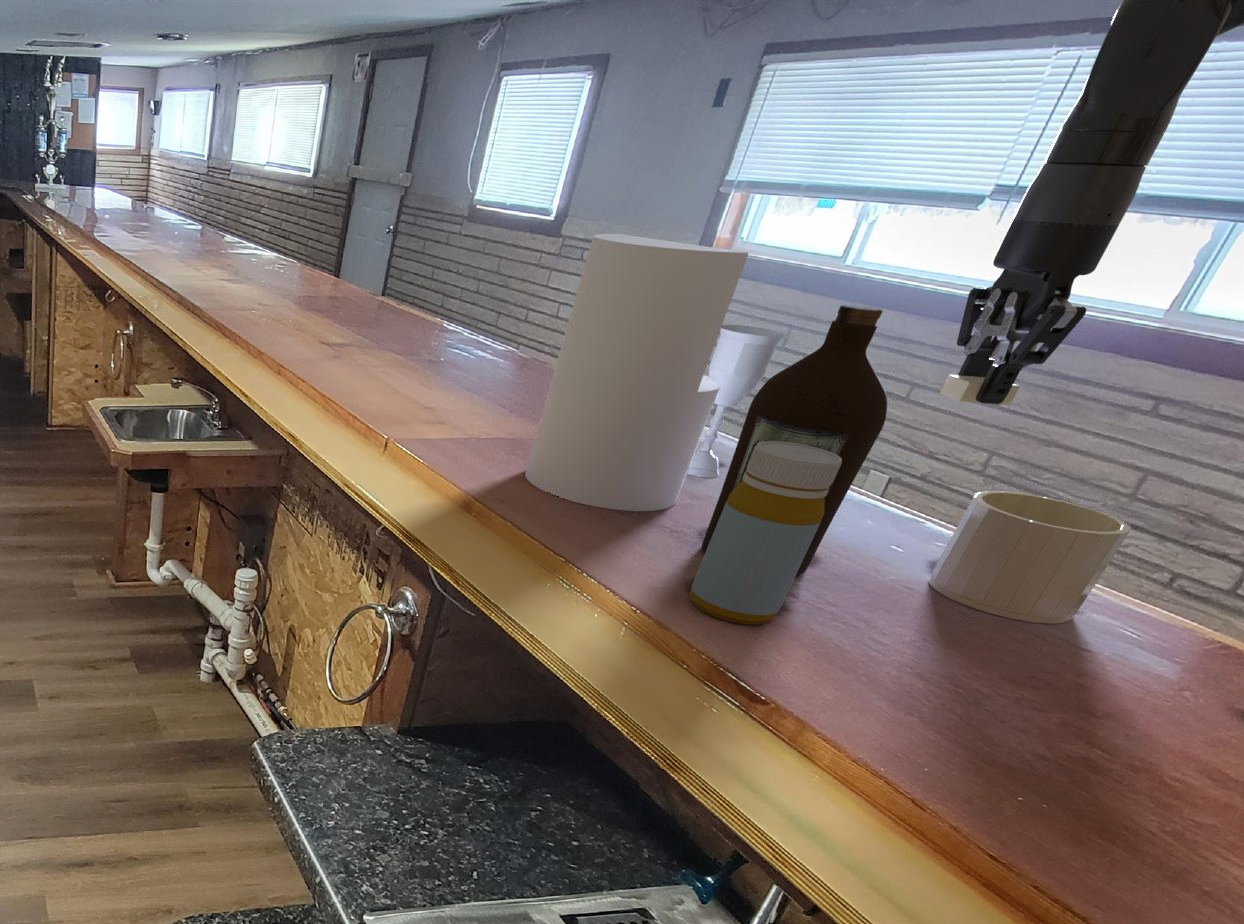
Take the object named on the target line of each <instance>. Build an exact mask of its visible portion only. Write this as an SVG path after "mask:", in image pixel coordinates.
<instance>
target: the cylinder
mask: <svg viewBox="0 0 1244 924" xmlns="http://www.w3.org/2000/svg"><path fill="white" fill-rule="evenodd" d="M748 256H749V252H747V251H741V250H740V251H739V250H734V249H726V248H721V247H720V248H719V247H714V246H713V247H712V246H704V245H699V244H692V243H685V242H679V241H670V240H664V239H657V238H650V237H642V236H636V235H629V234H623V233H602V234H601V233H600V234H594V235H592V239H591V242H590V245H589V248H588V253H587V257H586V260H585V263H584V267H583V270H582V274H581V277H580V281H579V284H578V287H577V291H576V294H575V298H574V302H573V305H572V308H571V311H570V315H569V318H568V322H567V325H566V329H565V332H564V335H563V340H562V343H561V347H560V350H559V353H558V357H557V360H556V363H555V367H554V371H553V375H552V377H551V381H550V385H549V388H548V391H547V395H546V398H545V402H544V406H543V410H542V413H541V415H540V420H539V423H538V426H537V430H536V434H535V438H534V440H533V444H532V448H531V451H530V454H529V458H528V462H527V465H526V469H525V471H524V474H525V479H526V480H527V481H528V482H529V483H530V484H531V485H533V486H534V487H536V488H537V489H539V490H540V491H542V492H545V493H547V492H550V493H551V494H550V493H549V494H550V495H552V494H553V495H552V496H554V495H556V496H555V497H557V496H559V497H558V498H561V499H563V498H564V500H567V501H571V502H574V503H577V504H582V505H586V506H591V507H594V508H601V509H607V510H615V511H624V512H625V511H626V512H627V511H628V512H655V511H660V510H661V511H662V510H667V509H669V508H671V507H673V506H675V505H676V503H677V501H678V498H679V497H680V496H679V495H680V493H681V490H682V488H683V485H684V483H685V479H686V477H687V475H688V474H687V472H688V469H689V467H690V464H691V461H692V459H693V456H694V454H695V451H697V448H698V445H699V443H700V440H701V437H702V435H703V432H704V430H705V427H706V425H707V422H708V419H709V417H710V414H711V411H712V409H713V407H714V404H715V403H714V401H715V398H716V396H717V393H718V390H719V388H720V384H719V383H718V382H717V381H716V380H714V379H712V378H710V377H709V375H705V372H706V370H707V367H708V365H709V363H710V359H711V357H712V355H713V351H714V348H715V345H716V342H717V340H718V338H719V336H720V335H719V334H720V329H721V327H722V325H724V321H725V318H726V315H727V313H728V311H729V307H730V305H731V302H732V300H733V297H734V294H735V291H736V289H737V287H738V283H739V280H740V278H741V275H742V272H743V270H744V267H745V265H746V261H747V259H748Z"/></svg>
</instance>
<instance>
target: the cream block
mask: <svg viewBox="0 0 1244 924" xmlns="http://www.w3.org/2000/svg"><path fill="white" fill-rule="evenodd" d="M984 379H985V377H974V376H960V375H958V374H948V376H947V377H946V380H945V381H944V384H943V386H942V387H941V390H940V392H939V394H940V395H943V396H946V397H947V398H949V399H953V400H956V401H958V402H960V403H963V402H964V403H976V404H977V403H978V404H982V403H981V402H978V401H976V396H977V394H978V392H979V390H980V388H981V386H982V384H983V381H984ZM1020 386H1021V385H1019V384H1015V383H1014V384H1013V385H1012V387H1011V389H1010V391H1009V393H1008V395H1007V396H1006V398H1005V399H1004V401H1003V402H1002V403H1000V404H999V406H1000V405H1001V406H1011V404H1012V402H1013V400H1014V399H1015V398H1016V397H1015V396H1016V395H1017V393H1018V391H1019V389H1020Z"/></svg>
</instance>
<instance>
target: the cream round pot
mask: <svg viewBox="0 0 1244 924" xmlns="http://www.w3.org/2000/svg"><path fill="white" fill-rule="evenodd" d="M1131 528H1132V527H1131V526H1130V525H1129V524H1127V523H1126V521H1124V520H1122V519H1120V518H1118V517H1116V516H1114V515H1112V514H1108V513H1106V512H1103V511H1101V510H1097V509H1094V508H1091V507H1088V506H1084V505H1081V504H1078V503H1074V502H1070V501H1066V500H1062V499H1057V498H1052V497H1048V496H1041V495H1035V494H1031V493H1030V494H1029V493H1025V492H1013V491H1002V490H985V491H980V492H977V493H975V495H974V496H973V497H972V499H971V501H970V503H969V505H968V506H967V508H966V510H965V512H964V513H963V516H962V517H961V519H960V521H959V522H958V524H957V526H956V528H955V530H954V532H953V534H952V536H951V537H950V539H949V541H948V543H947V545H946V546H945V547H944V550H943V552H942V554H941V555H940V557H939V559H938V561H937V562H936V565H935V566H934V568H933V570H932V572H931V573H930V576H929V578H928V584H929V586H930V587H931V588H932V589H934V590H935V591H936V592H937V593H939V594H941V595H942V596H944V597H946V598H948V599H950V600H952V601H954V602H956V603H959V604H962V605H963V606H967V607H969V608H972V609H975V610H978V611H981V612H984V613H988V614H991V615H995V616H999V617H1002V618H1007V619H1011V620H1016V621H1021V622H1029V623H1037V624H1047V625H1049V624H1050V625H1053V624H1056V625H1057V624H1064V623H1068V622H1070V621H1071V620H1072V619H1073V618H1074V617H1075V615H1077V613H1078V611H1079V610H1080V608H1081V607H1082V605H1083V604H1084V603H1085V601H1086V599H1087V598H1088V596H1089V594H1090V593H1091V592H1092V591H1093V588H1094V587H1095V586H1096V585H1097V583H1098V581H1099V580H1100V578H1101V577H1102V575H1103V573H1104V572H1105V571H1106V569H1107V568H1108V566H1109V565H1110V563H1111V562H1112V560H1113V558H1114V556H1116V554H1117V552H1118V551H1119V549H1120V548H1121V546H1122V544H1123V543H1124V541H1125V540H1126V538H1127V537H1128V536H1129V533H1130V532H1131Z"/></svg>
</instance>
